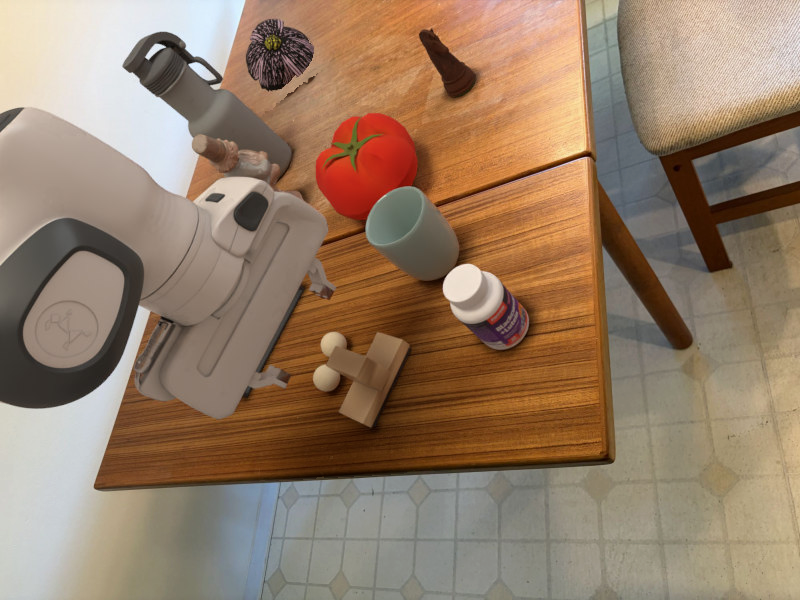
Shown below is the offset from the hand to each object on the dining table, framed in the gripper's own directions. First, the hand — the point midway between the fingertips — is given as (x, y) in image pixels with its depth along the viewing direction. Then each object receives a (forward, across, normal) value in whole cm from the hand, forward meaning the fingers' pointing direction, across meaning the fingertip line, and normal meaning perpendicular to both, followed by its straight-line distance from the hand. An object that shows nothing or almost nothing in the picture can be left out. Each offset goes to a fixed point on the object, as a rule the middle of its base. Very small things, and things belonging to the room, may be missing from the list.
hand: (307, 335), depth 54 cm
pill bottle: (+13, +10, -12) cm, 20 cm away
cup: (+13, +16, 0) cm, 21 cm away
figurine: (+13, +20, +34) cm, 42 cm away
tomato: (+13, +26, +15) cm, 33 cm away
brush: (+13, 0, 0) cm, 13 cm away
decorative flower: (+14, +51, +56) cm, 77 cm away
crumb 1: (+11, +2, +9) cm, 14 cm away
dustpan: (+13, 0, +34) cm, 36 cm away
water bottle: (+13, +29, +46) cm, 56 cm away
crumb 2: (+11, -2, +7) cm, 13 cm away
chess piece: (+14, +44, +11) cm, 47 cm away
